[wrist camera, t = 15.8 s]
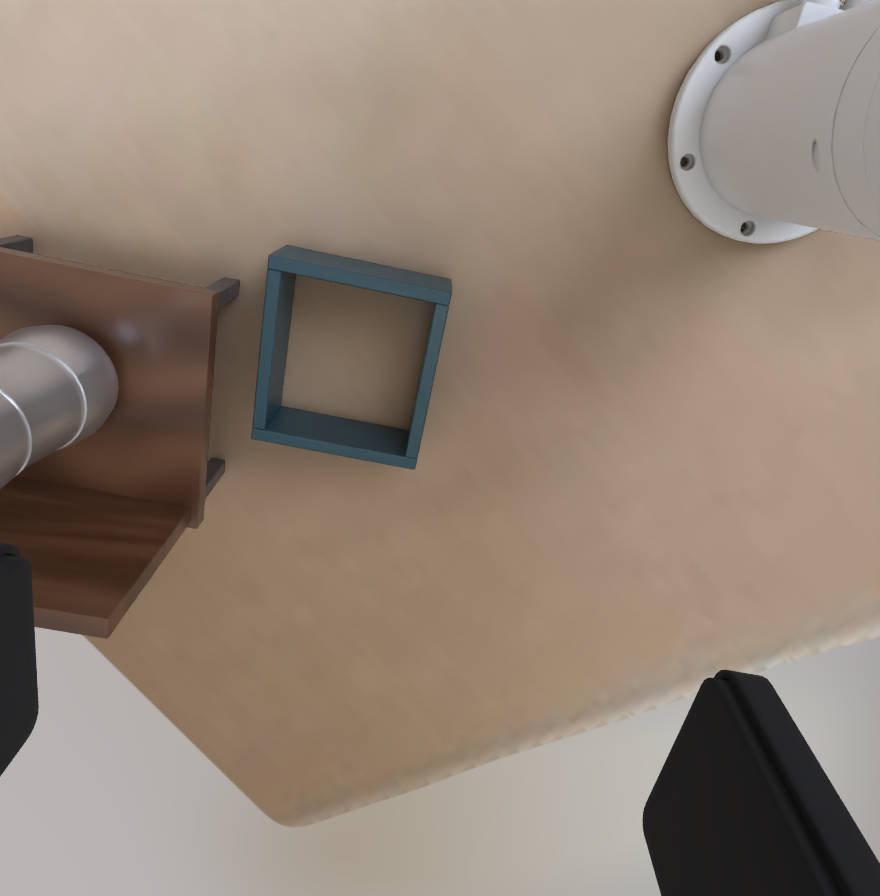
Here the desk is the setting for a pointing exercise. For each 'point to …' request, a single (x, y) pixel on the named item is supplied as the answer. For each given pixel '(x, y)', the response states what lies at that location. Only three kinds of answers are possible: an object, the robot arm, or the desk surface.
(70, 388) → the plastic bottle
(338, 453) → the rectangular frame
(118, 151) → the desk surface
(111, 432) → the chair
